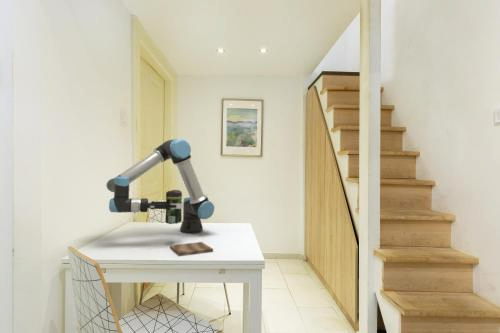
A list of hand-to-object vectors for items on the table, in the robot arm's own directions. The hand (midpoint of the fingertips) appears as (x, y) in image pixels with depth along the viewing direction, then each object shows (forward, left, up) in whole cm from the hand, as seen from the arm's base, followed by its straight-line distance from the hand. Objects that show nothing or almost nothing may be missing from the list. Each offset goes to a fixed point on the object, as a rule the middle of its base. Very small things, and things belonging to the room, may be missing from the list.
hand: (182, 204), depth 172 cm
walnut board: (-1, +15, -22) cm, 27 cm away
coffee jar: (+4, -1, -10) cm, 11 cm away
